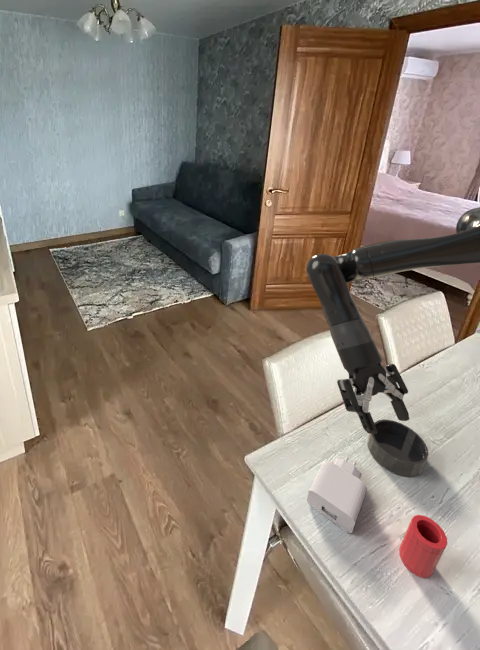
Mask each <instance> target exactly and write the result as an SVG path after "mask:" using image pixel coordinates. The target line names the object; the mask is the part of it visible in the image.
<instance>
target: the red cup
mask: <svg viewBox="0 0 480 650" xmlns="http://www.w3.org/2000/svg"><path fill="white" fill-rule="evenodd" d="M447 546H448V537H447V535H446V532H445V531H444V529H443V528H442V526H440V524H438V523H437V522H436V521H435V520H434V519H432V518H430V517H428V516H427V515H422V514H416V515H414V516H413V517H412V518H411V519H410V522H409V524H408V526H407V529H406V531H405V534H404V536H403V538H402V540H401V543H400V545H399V549H398V553H399V557H400V559H401V562H402V563H403V565H404V567H406V569H407V570H408V571H410V573H411V574H413V575H415V576H416V577H419V578H422V579H428V578H431V576H432V575H433V574H434V572H435V569H436V568H437V566H438V564H439V561H440V560H441V558H442V556H443V553H444V552H445V550H446V548H447Z"/></svg>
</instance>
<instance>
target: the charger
mask: <svg viewBox="0 0 480 650" xmlns="http://www.w3.org/2000/svg"><path fill="white" fill-rule="evenodd" d="M349 458H350V457H349V456H346V457H345V458H344V459H342V458H339V457H337V458H335V460H334V461H330V460H323V462H322V464H321V466H320V468H319V470H318V472H317V474H316V476H315V478H314V480H313V482H312V483H311V486H310V487H309V489H308V494H307V497H306V502H307V504H308V505H309V506H310V507H311V508H312V509H314V510H315V511H317V512H318V513H319V514H321V515H322V516H323V517H325V518H326V519H328V520H329V521H331V522H332V523H333V524H335V525H336V526H338V527H339V528H340V529H342V530H343V531H345V532H346V533H348V534H353V531H354V528H355V525H356V522H357V519H358V516H359V514H360V511H361V508H362V505H363V502H364V499H365V496H366V493H367V490H368V488H367V486H366V485H365V483H364V481H363V480H362V479H361V478H362V475H363V474H362V472H361V470H359V469H358V467H356V465H357V461H356V460H353V462H352V463H351V462H349V461H348V460H349Z"/></svg>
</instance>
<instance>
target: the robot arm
mask: <svg viewBox="0 0 480 650" xmlns="http://www.w3.org/2000/svg"><path fill="white" fill-rule="evenodd" d="M469 264H480V207H474V208H471V209H469V210H467V211H465V212H463V214H462V215H460V217H459V218H458V220H457V222H456V225H455V233H451V234H447V235H442V236H435V237H426V238H425V237H423V238H402V239H392V240H385V241H380V242H375V243H370V244H368V245H363V246H359V247H356V248H354V249H351V250H350V251H349V252H347V253H343V254H339V255H334V256H333V255H330V254H328V253H318V254H315V255H313V256H312V257H310V259H309V260H308V262H307V264H306V275H307V278H308V279H309V283H310V284H311V286H312V288H313V290H314V292H315V295H316V297H317V298H318V300H319V304H320V307H321V310H322V313H323V316H324V319H325V322H326V324H327V326H328V328H329V332H330V336H331V339H332V342H333V345H334V347H335V350H336V352H337V355H338V357H339V360H340V362H341V365H342V367H343V369H344V370H345V371H346V372H347V374H348V378H342V379H341V378H340V379H337V380H336V383H337V387H338V389H339V392H340V396H341V399H342V402H343V405H344V407H345V410H346V411H347V412H349V413H355V414H357V416H358V418H359V421H360V423H361V426H362V428H363V430H364V431H365V432H366V433H367V434H368V435H369V434H375V433H377V432H378V431H377V428H376V426H375V421H374V419H373V416H372V414H371V412H370V411H369V410H370V409H369V408H370V403H371V401H372V399H373V398H372V397H374V396H376V395H377V394H379V393H381V394H383V395H385V396H386V397H387V398H388V399H390V404H391V406H392V408H393V410H394V414H395V416H396V418H397V420H398V421H399V422H401V421H402V422H407V421H409V420H410V414H409V411H408V409H407V407H406V404H405V402H404V397H405V395H407V394H409V390H408V387H407V385H406V383H405V382H404V379H403V377H402V375H401V373H400V372H399V369H398V367H397V366H396V364H394V363H392V364H391V363H388V364H387V363H386V364H383V365H382V362H383V359H382V356H381V354H380V352H379V349H378V347H377V345H376V343H375V341H374V339H373V336H372V334H371V331H370V329H369V327H368V325H367V324H366V321H364V318H363V316H362V314H361V312H360V309H359V307H358V305H357V303H356V301H355V299H354V296H352V294H351V292H350V288H349V286H348V283H349V284H350V283H352V282H357V281H358V280H364V279H371V278H377V277H381V276H387V275H392V274H396V273H401V272H407V271H414V270H421V269H428V268H437V267H446V266H459V265H469Z"/></svg>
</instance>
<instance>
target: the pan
mask: <svg viewBox="0 0 480 650" xmlns="http://www.w3.org/2000/svg"><path fill="white" fill-rule="evenodd" d="M374 423H375V426H376V428H377V431H378V432H377V433H375V434H369V433H368V437H367V441H366V442H367V448H368V449H367V450H368V451H369V453H370V455H371V456H372V458H373V459H374V460H375V462H377V464H379V465H380V466H381V467H382V468H384V469H385V470H387V471H389V472H390V473H392V474H394V475H397V476H400V477H405V478H414V477H418V476H419V475H420V474H421V473H422V472H423V470H424V467H425V465H426V463H427V460H428V458H429V455H430V454H429V449H428V445H427V444H426V442H425V441H424V439H423V438H422V437H421V436H420V435H419V434H418V433H417V431H414V430H413V429H412V428H411V427H409V426H407V425H405V424H403V423H402V422H400V421H395V420H393V419H386V418H385V419H378V420H376V421H374Z"/></svg>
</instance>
